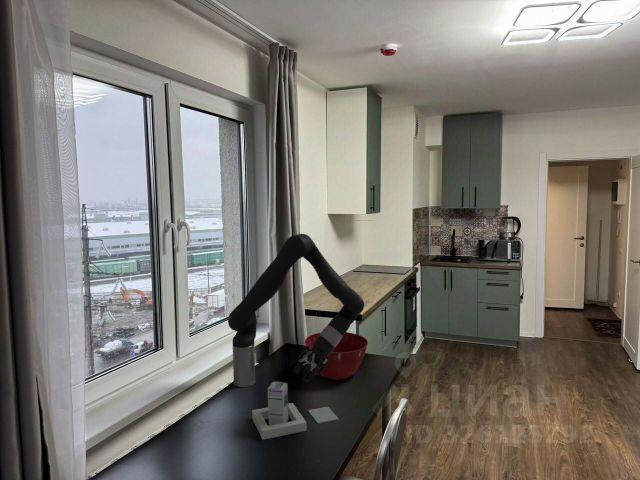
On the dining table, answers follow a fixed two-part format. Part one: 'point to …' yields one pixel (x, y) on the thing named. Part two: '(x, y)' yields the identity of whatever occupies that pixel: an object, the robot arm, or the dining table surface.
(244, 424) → the dining table surface
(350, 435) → the dining table surface
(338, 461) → the dining table surface
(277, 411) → the syrup box
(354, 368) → the mixing bowl
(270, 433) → the hollow square frame
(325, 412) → the rubber mat
